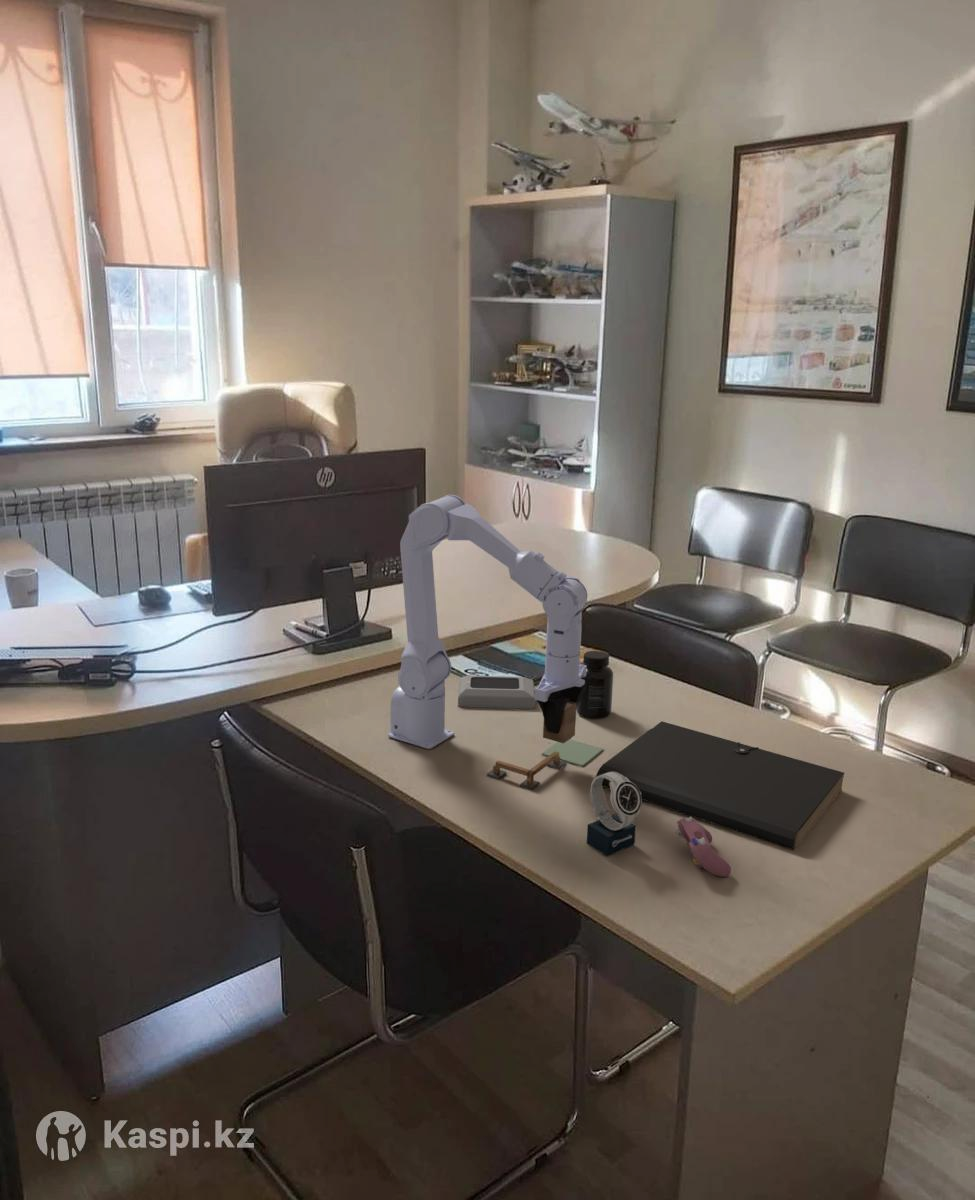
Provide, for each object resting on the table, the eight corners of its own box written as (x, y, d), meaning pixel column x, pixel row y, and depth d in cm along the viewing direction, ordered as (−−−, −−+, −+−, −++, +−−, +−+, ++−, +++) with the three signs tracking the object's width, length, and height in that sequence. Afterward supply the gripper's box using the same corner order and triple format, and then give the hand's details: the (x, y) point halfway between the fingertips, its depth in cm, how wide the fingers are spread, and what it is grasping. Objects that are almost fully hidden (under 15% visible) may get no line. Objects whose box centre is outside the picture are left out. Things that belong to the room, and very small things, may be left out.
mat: (541, 754, 172) (541, 753, 171) (563, 739, 178) (563, 737, 178) (582, 766, 167) (582, 765, 167) (603, 750, 174) (603, 748, 174)
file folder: (845, 770, 161) (795, 832, 142) (842, 792, 162) (792, 857, 143) (662, 718, 179) (596, 767, 160) (660, 739, 180) (595, 790, 161)
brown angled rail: (486, 775, 164) (486, 761, 163) (521, 751, 173) (521, 738, 172) (532, 790, 159) (533, 776, 158) (565, 764, 168) (566, 751, 167)
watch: (616, 862, 139) (621, 792, 136) (578, 838, 145) (582, 770, 142) (644, 850, 142) (649, 781, 139) (605, 827, 148) (609, 761, 145)
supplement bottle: (617, 711, 191) (620, 653, 187) (601, 722, 185) (605, 663, 182) (585, 703, 194) (588, 646, 191) (569, 714, 189) (572, 655, 185)
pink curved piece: (684, 851, 145) (667, 814, 143) (712, 838, 145) (695, 801, 143) (705, 890, 136) (686, 850, 134) (735, 876, 135) (717, 836, 133)
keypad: (535, 692, 190) (458, 690, 190) (534, 710, 191) (457, 708, 192) (533, 674, 200) (460, 673, 200) (532, 691, 201) (459, 689, 201)
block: (542, 737, 166) (544, 704, 164) (554, 729, 169) (555, 697, 168) (563, 743, 164) (565, 710, 162) (574, 735, 167) (576, 702, 165)
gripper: (563, 669, 154) (559, 748, 158) (604, 644, 166) (599, 718, 170) (524, 660, 158) (521, 737, 162) (567, 636, 170) (563, 709, 174)
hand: (559, 727), depth 166 cm, fingers closed on block, 4 cm apart
